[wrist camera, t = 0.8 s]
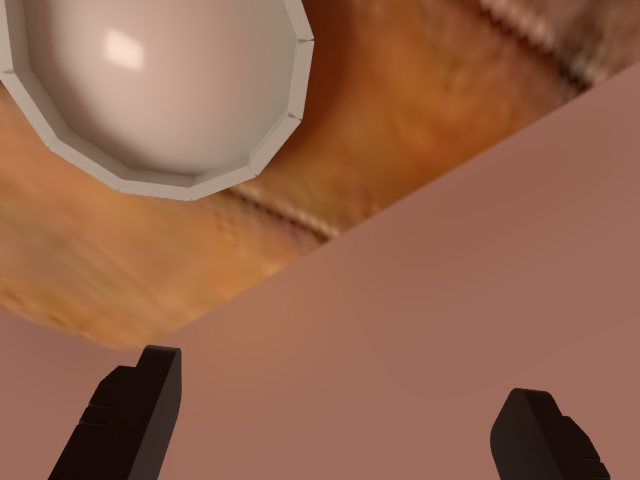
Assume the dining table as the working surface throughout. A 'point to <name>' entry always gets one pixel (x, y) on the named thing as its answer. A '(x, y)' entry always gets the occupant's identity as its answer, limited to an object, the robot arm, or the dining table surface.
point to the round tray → (159, 86)
